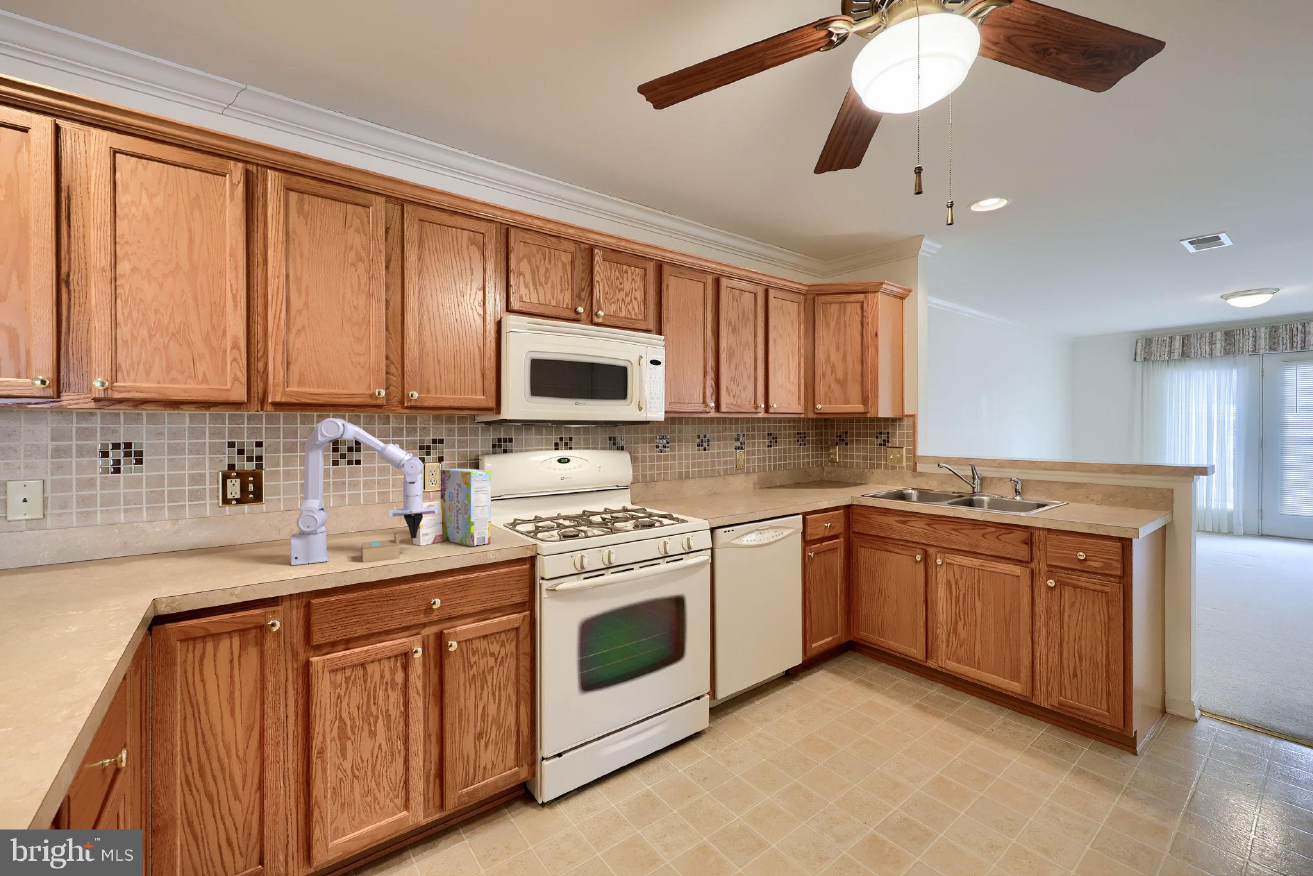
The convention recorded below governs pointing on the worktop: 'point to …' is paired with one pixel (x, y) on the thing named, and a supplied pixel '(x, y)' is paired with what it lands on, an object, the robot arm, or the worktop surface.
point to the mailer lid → (382, 543)
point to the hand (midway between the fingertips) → (413, 537)
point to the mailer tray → (380, 553)
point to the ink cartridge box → (430, 526)
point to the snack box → (466, 506)
